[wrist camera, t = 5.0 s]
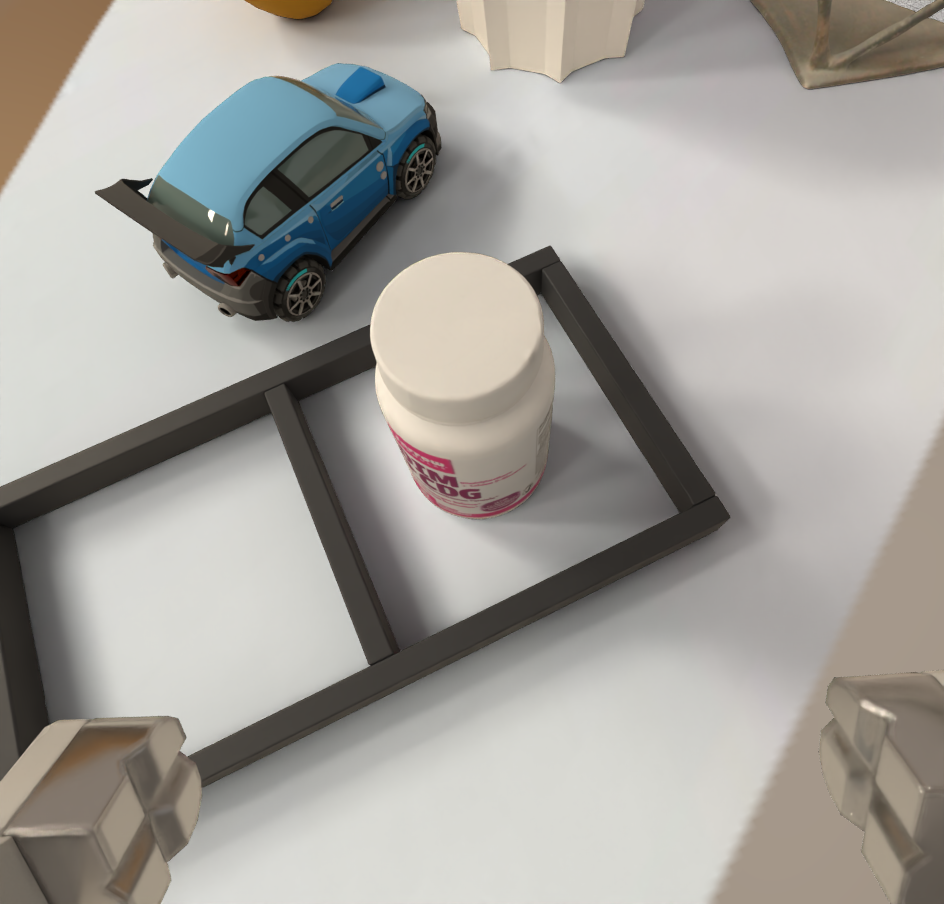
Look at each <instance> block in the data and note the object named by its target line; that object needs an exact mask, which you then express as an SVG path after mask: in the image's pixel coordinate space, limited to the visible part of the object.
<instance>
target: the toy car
mask: <svg viewBox="0 0 944 904" xmlns="http://www.w3.org/2000/svg"><path fill="white" fill-rule="evenodd" d="M440 149H441V137H440V134H439V132H438V129H437V121H436V114H435V110H434V109H433V107H432V106H431V105H430V104H429V103H428V102H427V103H426V100H425V99H424V97H423V96H422V95H420V94H419V92H417V91H415V90H414V89H412V88H411V87H409V86H408V85H406V84H404V83H402V82H400V81H398V80H397V79H395V78H393V77H390V76H388V75H386V74H384V73H382V72H379V71H376V70H374V69H371V68H369V67H365V66H359V65H355V64H341V63H337V64H334V65H331V66H329V67H327V68H325V69H322V70H320V71H319V72H317V73H315V74H313V75H312V76H310V77H308V78H306V79H304V80H302V81H300V80H297V79H293V78H289V77H284V76H269V77H263V78H260V79H256V80H253V81H251V82H249V83H248V84H246V85H245V86H243V87H242V88H240V89H239V90H238V91H236V92H235V93H234V94H232V95H231V96H230V97H229V98H227V99H226V100H225V101H224V102H222V103H221V104H220V105H219V106H217V107H216V108H215V109H214V110H213V111H212V112H210V113H209V114H208V115H207V116H206V117H205V118H203V119H202V120H201V121H200V123H199V124H198V125H197V126H196V127H195V128H194V129H193V130H192V131H191V132H190V133H189V134H188V135H187V137H186V138H185V139H184V140H183V141H182V142H181V144H180V145H179V146H178V147H177V148H176V150H175V151H174V152H173V154H172V155H171V157H170V158H169V159H168V161H167V162H166V163H165V165H164V166H163V167H162V169H161V170H160V172H159V173H158V175H157V176H156V178H155V180H154V182H153V185H152V187H151V189H150V192H149V195H148V198H146V197H145V196H144V195H143V194H141V193H140V192H139V191H138V190H139V189H141V188H143V187H145V186H147V185H149V184H150V182H151V181H152V180H153V179H152V178H151V179H147V180H143V181H138V180H128V179H121V180H119V181H118V182H117V183H116V184H114V185H112V186H110V187H108V188H106V189H102V190H98V191H95V194H97V195H98V196H100V197H101V198H103V199H104V200H105V201H107V202H108V203H110V204H111V205H113V206H114V207H115V208H117V209H118V210H120V211H121V212H123V213H124V214H126V215H127V216H129V217H130V218H132V219H133V220H134V221H136V222H137V223H139V224H140V225H142V226H143V227H145V228H146V229H148V230H149V231H151V232H152V233H153V239H154V243H153V246H154V248H155V249H156V251H157V252H158V254H159V255H160V257H161V258H162V259H163V260H164V261H165V263H163V266H164V268H165V269H166V271H167V272H168V274H169V275H170V277H171V278H175V277H176V276H177V275H180V276H181V277H182V278H184V279H185V280H186V281H188V282H189V283H190V284H192V285H193V286H195V287H196V288H198V289H199V290H201V291H202V292H203V293H205V294H206V295H208V296H209V297H211V298H213V299H214V300H216V301H217V302H219V303H221V304H219V305H218V309H219V311H220V312H221V313H222V314H224V315H226V316H228V317H232V316H234V315H235V314H236V313H239V314H241V315H243V316H245V317H247V318H250V319H252V320H255V321H257V320H269V319H274V318H277V316H276V315H278V316H279V318H281V319H282V320H285V321H287V322H289V321H292V322H295V321H298V320H301V319H302V317H303V318H305V317H306V316H307V315H309V314H310V313H311V311H312V310H313V309H315V308H316V306H317V305H318V303H319V302H320V299H321V297H322V296H323V292H324V289H325V287H324V285H325V284H326V278H325V274H324V269H323V268H322V266H324V267H326V268H327V269H329V270H330V271H332V270H333V269H334V268H335V267H336V266H337V265H338V264H339V263H340V262H341V260H342V259H343V258H344V257H345V256H346V255H347V254H348V253H349V252H350V250H351V249H352V248H353V247H354V246H355V245H356V244H357V243H358V242H359V240H360V239H361V238H362V237H363V236H364V235H365V234H366V233H367V232H368V230H369V229H370V228H371V227H372V226H373V225H374V224H375V223H376V222H377V221H378V219H379V218H380V217H381V216H382V215H383V214H384V213H385V212H386V211H387V209H388V208H389V207H390V206H391V205H392V204H393V203H394V202H395V201H396V199H397V196H396V195H398V196H399V197H401V198H404V199H412V198H413V197H416V196H417V195H418V194H420V193H421V191H422V190H424V189H425V187H426V186H427V184H428V183H429V180H430V178H431V177H432V174H433V171H434V166H435V163H436V155H438V153H439V151H440ZM320 264H321V265H322V266H321V265H320Z"/></svg>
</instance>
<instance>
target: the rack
mask: <svg viewBox="0 0 944 904" xmlns="http://www.w3.org/2000/svg"><path fill="white" fill-rule="evenodd" d="M508 265H509V266H511V267H512V268H514V269H515V270H517V271H518V272H519V273H520V274H521V275H522V276H523V277H524V278H525V279H526V280H527V281H528V282H529V284H530V285H531V286H532V288H533V289H534V291H535V293H536V295H537V294H539V293H541V294H542V295H543V297H544V299H545V300H546V302H547V303H548V305H549V307H550V308H551V310H552V311H553V313H554V314H555V316H556V318H557V319H558V321H559V322H560V324H561V326H562V327H563V329H564V330H565V332H566V333H567V335H568V337H569V338H570V340H571V341H572V343H573V344H574V346H575V348H576V349H577V351H578V352H579V354H580V356H581V357H582V359H583V360H584V362H585V363H586V365H587V367H588V368H589V370H590V371H591V373H592V375H593V376H594V378H595V379H596V381H597V382H598V384H599V386H600V387H601V389H602V390H603V392H604V394H605V395H606V397H607V398H608V400H609V401H610V403H611V405H612V406H613V408H614V409H615V411H616V412H617V414H618V416H619V417H620V419H621V420H622V422H623V424H624V425H625V427H626V428H627V430H628V431H629V433H630V435H631V436H632V438H633V439H634V441H635V443H636V444H637V446H638V447H639V449H640V450H641V452H642V454H643V455H644V457H645V458H646V460H647V461H648V463H649V465H650V466H651V468H652V469H653V471H654V473H655V474H656V476H657V477H658V479H659V480H660V482H661V484H662V485H663V487H664V488H665V490H666V492H667V493H668V495H669V496H670V498H671V499H672V501H673V503H674V504H675V506H676V507H677V509H678V511H679V512H680V513H679V514H677V515H675V516H673V517H671V518H669V519H667V520H665V521H663V522H661V523H659V524H657V525H655V526H653V527H651V528H649V529H647V530H645V531H643V532H641V533H639V534H637V535H635V536H633V537H631V538H629V539H627V540H625V541H623V542H620V543H618V544H616V545H614V546H612V547H610V548H608V549H606V550H604V551H602V552H600V553H598V554H596V555H594V556H592V557H590V558H588V559H586V560H584V561H582V562H580V563H578V564H576V565H574V566H572V567H570V568H568V569H566V570H564V571H562V572H560V573H558V574H556V575H554V576H552V577H550V578H548V579H546V580H544V581H542V582H540V583H538V584H536V585H534V586H531V587H529V588H527V589H525V590H523V591H521V592H519V593H517V594H515V595H513V596H511V597H509V598H507V599H505V600H503V601H501V602H499V603H497V604H495V605H493V606H491V607H489V608H487V609H485V610H483V611H481V612H479V613H477V614H475V615H473V616H471V617H469V618H467V619H465V620H463V621H461V622H459V623H457V624H455V625H453V626H451V627H449V628H447V629H445V630H442V631H440V632H438V633H436V634H434V635H432V636H430V637H428V638H426V639H424V640H422V641H420V642H418V643H416V644H414V645H412V646H410V647H408V648H406V649H404V650H402V651H400V649H399V647H398V644H397V642H396V640H395V637H394V635H393V632H392V630H391V627H390V625H389V622H388V620H387V617H386V615H385V613H384V610H383V608H382V605H381V603H380V600H379V598H378V595H377V593H376V591H375V588H374V586H373V583H372V581H371V578H370V576H369V573H368V571H367V569H366V566H365V564H364V561H363V559H362V556H361V554H360V551H359V549H358V546H357V544H356V542H355V539H354V537H353V534H352V532H351V529H350V527H349V524H348V522H347V520H346V517H345V515H344V512H343V510H342V507H341V505H340V502H339V500H338V497H337V495H336V493H335V490H334V488H333V485H332V483H331V480H330V478H329V475H328V473H327V471H326V468H325V466H324V463H323V461H322V458H321V456H320V453H319V451H318V449H317V446H316V444H315V441H314V439H313V436H312V434H311V431H310V429H309V426H308V424H307V422H306V419H305V417H304V414H303V412H302V409H301V407H300V404H299V402H298V401H299V400H301V399H304V398H306V397H308V396H310V395H312V394H315V393H317V392H319V391H321V390H324V389H326V388H328V387H330V386H333V385H335V384H337V383H339V382H342V381H344V380H346V379H348V378H351V377H353V376H355V375H357V374H360V373H362V372H364V371H366V370H369V369H371V368H373V367H375V366H376V364H377V361H376V359H375V356H374V353H373V350H372V345H371V339H370V325H371V324H370V325H368V326H366V327H363V328H361V329H359V330H357V331H354V332H352V333H350V334H347V335H345V336H343V337H341V338H338V339H336V340H334V341H331V342H329V343H327V344H325V345H322V346H320V347H318V348H316V349H313V350H311V351H309V352H306V353H304V354H302V355H300V356H297V357H295V358H293V359H290V360H288V361H286V362H284V363H281V364H279V365H277V366H275V367H272V368H270V369H268V370H265V371H263V372H261V373H259V374H256V375H254V376H252V377H249V378H247V379H245V380H243V381H240V382H238V383H236V384H233V385H231V386H229V387H227V388H224V389H222V390H220V391H218V392H215V393H213V394H211V395H208V396H206V397H204V398H202V399H199V400H197V401H195V402H192V403H190V404H188V405H186V406H183V407H181V408H179V409H177V410H174V411H172V412H170V413H167V414H165V415H163V416H161V417H158V418H156V419H154V420H151V421H149V422H147V423H145V424H142V425H140V426H138V427H136V428H133V429H131V430H129V431H126V432H124V433H122V434H120V435H117V436H115V437H113V438H110V439H108V440H106V441H104V442H101V443H99V444H97V445H94V446H92V447H90V448H88V449H85V450H83V451H81V452H79V453H76V454H74V455H72V456H69V457H67V458H65V459H63V460H60V461H58V462H56V463H53V464H51V465H49V466H47V467H44V468H42V469H40V470H38V471H35V472H33V473H31V474H28V475H26V476H24V477H22V478H19V479H17V480H15V481H12V482H10V483H8V484H6V485H3V486H1V487H0V781H1V780H2V779H3V778H4V777H5V775H6V774H7V773H8V772H9V770H10V769H11V768H12V767H13V766H14V764H15V763H16V762H17V761H18V759H19V758H20V757H21V756H22V754H23V753H24V752H25V751H26V750H27V748H28V747H29V746H30V745H31V743H32V742H33V741H34V740H35V739H36V737H37V736H38V735H39V734H40V732H41V731H42V730H43V729H44V728H45V727H47V726H48V725H49V720H48V715H47V709H46V704H45V698H44V693H43V688H42V682H41V677H40V672H39V666H38V661H37V655H36V650H35V645H34V639H33V634H32V629H31V623H30V618H29V612H28V607H27V602H26V596H25V591H24V585H23V580H22V575H21V569H20V564H19V559H18V553H17V548H16V542H15V537H14V532H13V530H12V528H14V527H17V526H19V525H21V524H23V523H26V522H28V521H30V520H32V519H34V518H37V517H39V516H41V515H43V514H46V513H48V512H50V511H52V510H55V509H57V508H59V507H61V506H64V505H66V504H68V503H70V502H73V501H75V500H77V499H79V498H82V497H84V496H86V495H88V494H91V493H93V492H95V491H97V490H99V489H102V488H104V487H106V486H108V485H111V484H113V483H115V482H117V481H120V480H122V479H124V478H126V477H129V476H131V475H133V474H135V473H138V472H140V471H142V470H144V469H147V468H149V467H151V466H153V465H156V464H158V463H160V462H162V461H165V460H167V459H169V458H171V457H173V456H176V455H178V454H180V453H182V452H185V451H187V450H189V449H191V448H194V447H196V446H198V445H200V444H203V443H205V442H207V441H209V440H212V439H214V438H216V437H218V436H221V435H223V434H225V433H227V432H230V431H232V430H234V429H236V428H238V427H241V426H243V425H245V424H247V423H250V422H252V421H254V420H256V419H259V418H261V417H263V416H265V415H268V414H270V413H272V415H273V418H274V420H275V423H276V425H277V428H278V431H279V433H280V436H281V438H282V441H283V444H284V446H285V449H286V451H287V454H288V457H289V459H290V462H291V464H292V467H293V470H294V472H295V475H296V477H297V480H298V482H299V485H300V488H301V490H302V493H303V495H304V498H305V501H306V503H307V506H308V508H309V511H310V514H311V516H312V519H313V521H314V524H315V526H316V529H317V532H318V534H319V537H320V539H321V542H322V545H323V547H324V550H325V552H326V555H327V558H328V560H329V563H330V565H331V568H332V571H333V573H334V576H335V578H336V581H337V583H338V586H339V589H340V591H341V594H342V596H343V599H344V602H345V604H346V607H347V609H348V612H349V615H350V617H351V620H352V622H353V625H354V628H355V630H356V633H357V635H358V638H359V640H360V643H361V646H362V648H363V651H364V653H365V656H366V659H367V661H368V664H369V665H370V667H368V668H366V669H364V670H362V671H360V672H358V673H355V674H353V675H351V676H349V677H347V678H345V679H343V680H341V681H339V682H337V683H335V684H333V685H331V686H329V687H327V688H325V689H323V690H321V691H319V692H317V693H315V694H313V695H311V696H309V697H307V698H305V699H303V700H301V701H299V702H297V703H295V704H293V705H291V706H289V707H287V708H285V709H283V710H281V711H279V712H277V713H275V714H273V715H271V716H269V717H266V718H264V719H262V720H260V721H258V722H256V723H254V724H252V725H250V726H248V727H246V728H244V729H242V730H240V731H238V732H236V733H234V734H232V735H230V736H228V737H226V738H224V739H222V740H220V741H218V742H216V743H214V744H212V745H210V746H208V747H206V748H204V749H202V750H200V751H198V752H196V753H194V754H192V755H190V756H188V758H189V759H191V760H192V761H193V762H195V763H196V765H197V768H198V771H199V774H200V777H201V788H203V787H205V786H207V785H209V784H211V783H213V782H215V781H217V780H219V779H221V778H223V777H225V776H227V775H229V774H231V773H233V772H235V771H237V770H239V769H241V768H243V767H245V766H247V765H249V764H251V763H253V762H255V761H257V760H259V759H261V758H263V757H265V756H267V755H269V754H271V753H273V752H275V751H277V750H279V749H281V748H283V747H285V746H287V745H289V744H291V743H293V742H295V741H297V740H299V739H301V738H303V737H305V736H307V735H309V734H311V733H313V732H315V731H317V730H319V729H321V728H323V727H325V726H327V725H329V724H331V723H333V722H335V721H337V720H339V719H341V718H343V717H345V716H347V715H349V714H351V713H353V712H355V711H357V710H359V709H361V708H363V707H365V706H367V705H369V704H371V703H373V702H375V701H377V700H379V699H381V698H383V697H385V696H387V695H389V694H391V693H393V692H395V691H397V690H399V689H401V688H403V687H405V686H407V685H409V684H411V683H413V682H415V681H417V680H419V679H421V678H423V677H425V676H427V675H429V674H431V673H433V672H435V671H437V670H439V669H441V668H443V667H445V666H447V665H449V664H451V663H453V662H455V661H457V660H459V659H461V658H463V657H465V656H467V655H469V654H471V653H473V652H475V651H477V650H479V649H481V648H483V647H485V646H487V645H489V644H491V643H493V642H495V641H497V640H499V639H501V638H503V637H505V636H507V635H509V634H511V633H513V632H515V631H517V630H519V629H521V628H523V627H525V626H527V625H529V624H531V623H533V622H535V621H537V620H539V619H541V618H543V617H545V616H547V615H549V614H551V613H553V612H555V611H557V610H559V609H561V608H563V607H565V606H567V605H569V604H571V603H573V602H575V601H577V600H579V599H581V598H583V597H585V596H587V595H589V594H591V593H593V592H595V591H597V590H599V589H601V588H603V587H605V586H607V585H609V584H611V583H613V582H615V581H617V580H619V579H621V578H623V577H625V576H627V575H629V574H631V573H633V572H635V571H637V570H639V569H641V568H643V567H645V566H647V565H649V564H651V563H653V562H655V561H657V560H659V559H661V558H663V557H665V556H667V555H669V554H671V553H673V552H675V551H677V550H679V549H681V548H683V547H685V546H687V545H689V544H691V543H693V542H695V541H697V540H699V539H701V538H703V537H705V536H707V535H709V534H711V533H713V532H715V531H717V530H718V529H719V528H720V527H721V526H722V525H723V524H724V523H725V522H726V521H727V520H728V519H729V518H730V515H729V513H728V512H727V510H726V509H725V507H724V506H723V504H722V503H721V501H720V500H719V498H718V497H717V496H715V495H716V494H715V492H714V490H713V489H712V487H711V486H710V484H709V483H708V481H707V480H706V478H705V477H704V475H703V474H702V472H701V471H700V469H699V468H698V466H697V465H696V463H695V462H694V460H693V459H692V457H691V456H690V454H689V453H688V451H687V450H686V448H685V447H684V445H683V444H682V442H681V441H680V439H679V438H678V436H677V435H676V433H675V432H674V430H673V429H672V427H671V426H670V424H669V423H668V421H667V420H666V418H665V417H664V415H663V414H662V412H661V411H660V409H659V408H658V406H657V405H656V403H655V402H654V400H653V399H652V397H651V396H650V394H649V393H648V391H647V390H646V388H645V387H644V385H643V384H642V382H641V380H640V379H639V377H638V376H637V374H636V373H635V371H634V370H633V368H632V367H631V365H630V364H629V362H628V361H627V359H626V358H625V356H624V355H623V353H622V352H621V350H620V349H619V347H618V346H617V344H616V343H615V341H614V340H613V338H612V337H611V335H610V334H609V332H608V331H607V329H606V328H605V326H604V325H603V323H602V322H601V320H600V319H599V317H598V316H597V314H596V313H595V311H594V310H593V308H592V307H591V305H590V304H589V302H588V301H587V299H586V298H585V296H584V295H583V293H582V292H581V290H580V289H579V287H578V286H577V284H576V283H575V281H574V280H573V278H572V277H571V275H570V274H569V272H568V271H567V269H566V268H565V266H564V265H563V263H562V262H561V261H560V259H559V257H558V256H557V254H556V253H555V251H554V250H553V248H552V247H551V246H548V247H546V248H543V249H541V250H539V251H537V252H534V253H532V254H530V255H527V256H525V257H523V258H521V259H518V260H516V261H514V262H511V263H509V264H508Z"/></svg>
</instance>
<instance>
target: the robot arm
mask: <svg viewBox="0 0 944 904" xmlns="http://www.w3.org/2000/svg"><path fill="white" fill-rule="evenodd" d="M825 703H826V705H827V706H828V708H829V710H830V711H831V713H832V714H833V716H834V718H833V719H832V720H831V721H830V722H829V723H828V724H827V725H826V726H825V727H824V728H823V729H822V730H821V734H820V743H819V756H820V763H821V769H822V775H823V778H824V780H825V783H826V785H827V788H828V791H829V794H830V796H831V798H832V800H833V801H834V803H835V805H836V807H837V809H838V811H839V812H840V814H841V815H842V816H843V817H844V818H846V819H847V820H849V821H850V822H851V823H853V824H854V825H855V826H857V827H858V828H859V829H861V830H862V831H864V832H865V833H864V838H863V843H862V849H861V853H862V854H863V856H864V858H865V860H866V861H867V863H868V865H869V867H870V868H871V870H872V872H873V874H874V876H875V878H876V879H877V881H878V883H879V885H880V886H881V888H882V890H883V892H884V893H885V895H886V897H887V899H888V901H889V902H890V904H944V670H936V671H923V672H920V673H917V672H911V673H895V674H880V675H865V676H850V677H834V679H833V680H832V681H831V683H830V684H829V686H828V689H827V695H826V701H825ZM185 740H186V735H185V733H184V731H183V728H182V726H181V723H180V721H179V719H178V718H175V717H170V716H150V717H117V718H95V719H80V720H58V721H56V722H54V723H52V724H50V725H48V726H47V727H45V728H44V729H43V730H42V731H41V732H40V734H39V735H38V736H37V737H36V739H35V740H34V741H33V742H32V743H31V745H30V746H29V747H28V748H27V750H26V751H25V752H24V753H23V754H22V756H21V757H20V758H19V759H18V761H17V762H16V763H15V764H14V766H13V767H12V768H11V769H10V770H9V772H8V773H7V774H6V775H5V777H4V778H3V779H2V780H1V781H0V904H161V902H162V900H163V898H164V895H165V893H166V891H167V889H168V887H169V884H170V882H171V876H170V871H169V867H168V863H167V862H168V861H169V860H171V859H172V858H173V857H174V856H175V855H176V854H177V853H178V852H179V851H180V850H182V849H183V848H184V847H185V846H186V845H187V844H188V842H189V840H190V838H191V835H192V833H193V831H194V828H195V826H196V823H197V821H198V816H199V810H200V805H201V799H202V788H201V777H200V774H199V771H198V768H197V765H196V763H195V762H193V761H192V760H191V759H189V758H188V757H187V756H186V755H184V754H183V753H182V752H180V749H181V747H182V745H183V743H184V741H185Z"/></svg>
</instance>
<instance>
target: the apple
mask: <svg viewBox="0 0 944 904" xmlns="http://www.w3.org/2000/svg"><path fill="white" fill-rule="evenodd" d="M245 1H247V2H248V3H250V4H252V5H253V6H255V7H257V8H259V9H261V10H264V11H267V12H269V13H272V14H274V15H277V16H282V17H287V18H293V19H304V18H307V17H311V16H314V15H316V14H318V13H319V12H321V11H322V10H323V9H325V8H326V7H327V6H329V5H330V4H331V2H332V1H333V0H245Z"/></svg>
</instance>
